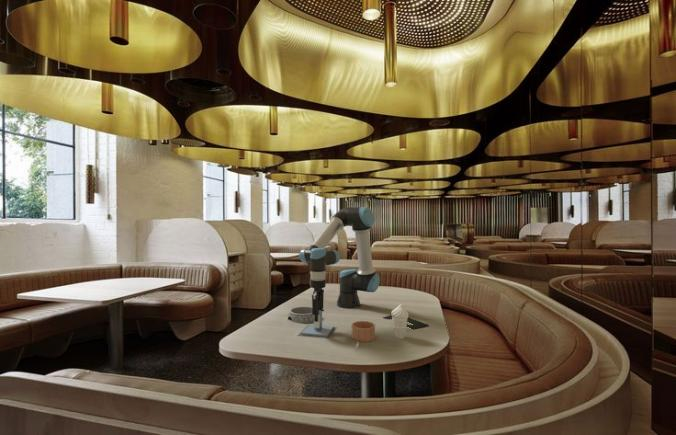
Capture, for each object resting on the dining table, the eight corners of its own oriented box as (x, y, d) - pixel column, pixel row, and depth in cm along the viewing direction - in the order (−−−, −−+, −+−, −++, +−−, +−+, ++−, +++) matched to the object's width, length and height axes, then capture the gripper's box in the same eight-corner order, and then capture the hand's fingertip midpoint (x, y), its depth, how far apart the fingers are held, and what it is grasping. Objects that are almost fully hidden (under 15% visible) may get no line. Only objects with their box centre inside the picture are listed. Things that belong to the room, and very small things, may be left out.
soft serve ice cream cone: (398, 341, 149) (398, 307, 149) (387, 336, 157) (387, 303, 157) (412, 338, 153) (412, 305, 153) (401, 333, 161) (401, 301, 161)
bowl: (354, 332, 162) (354, 320, 162) (376, 334, 159) (376, 322, 159) (349, 340, 151) (349, 327, 151) (373, 342, 148) (373, 329, 148)
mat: (307, 326, 171) (307, 324, 171) (337, 328, 167) (337, 327, 167) (297, 337, 155) (297, 335, 155) (329, 340, 152) (329, 338, 152)
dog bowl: (309, 312, 195) (309, 304, 195) (325, 321, 180) (325, 311, 180) (283, 317, 186) (283, 308, 186) (297, 326, 171) (297, 316, 171)
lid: (309, 325, 169) (309, 306, 169) (333, 327, 166) (333, 308, 166) (301, 334, 156) (301, 314, 156) (327, 337, 154) (327, 316, 154)
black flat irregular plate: (410, 332, 164) (430, 326, 172) (410, 331, 164) (430, 324, 172) (378, 319, 185) (397, 314, 193) (378, 317, 185) (397, 312, 193)
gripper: (315, 275, 170) (315, 320, 170) (305, 282, 154) (305, 331, 154) (329, 276, 169) (329, 321, 169) (320, 283, 152) (320, 332, 152)
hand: (318, 325), depth 161 cm, fingers closed on lid, 4 cm apart
